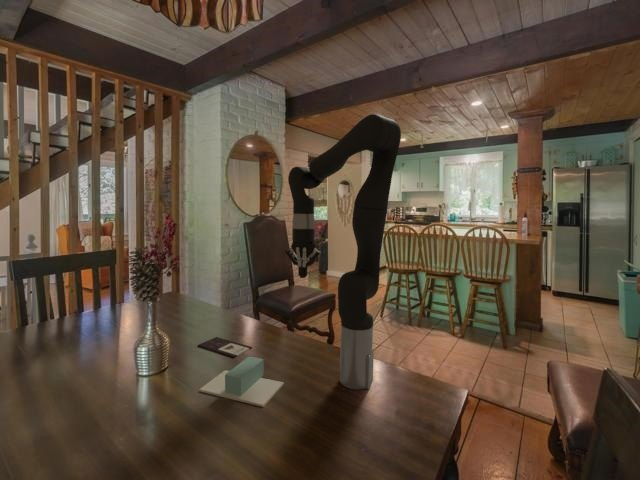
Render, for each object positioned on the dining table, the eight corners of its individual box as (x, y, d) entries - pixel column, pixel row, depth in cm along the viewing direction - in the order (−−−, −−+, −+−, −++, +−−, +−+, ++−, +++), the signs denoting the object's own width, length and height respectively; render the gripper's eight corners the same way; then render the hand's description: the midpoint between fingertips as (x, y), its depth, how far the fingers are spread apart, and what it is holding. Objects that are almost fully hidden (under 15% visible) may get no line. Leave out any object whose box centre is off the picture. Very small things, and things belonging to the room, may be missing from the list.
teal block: (263, 359, 98) (240, 378, 87) (263, 375, 99) (241, 396, 87) (249, 356, 100) (225, 374, 89) (249, 372, 100) (225, 392, 89)
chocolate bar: (216, 336, 128) (251, 347, 119) (216, 339, 128) (251, 349, 119) (197, 345, 120) (234, 356, 111) (197, 347, 120) (234, 359, 111)
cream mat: (283, 384, 95) (283, 382, 95) (263, 406, 84) (263, 404, 84) (225, 372, 101) (225, 370, 101) (199, 391, 90) (199, 389, 90)
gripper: (280, 227, 110) (280, 278, 112) (318, 228, 105) (317, 281, 107) (290, 226, 117) (290, 274, 119) (325, 227, 113) (324, 277, 114)
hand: (303, 277), depth 113 cm, fingers closed
